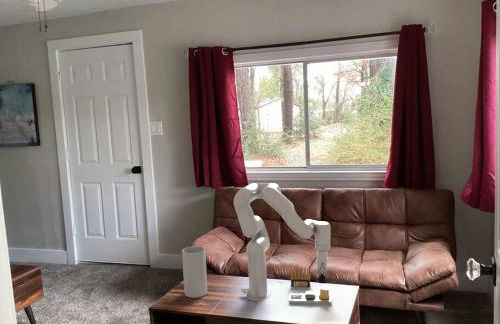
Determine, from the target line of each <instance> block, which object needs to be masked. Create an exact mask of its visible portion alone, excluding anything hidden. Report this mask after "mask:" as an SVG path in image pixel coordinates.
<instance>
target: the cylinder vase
mask: <svg viewBox="0 0 500 324" xmlns="http://www.w3.org/2000/svg"><path fill="white" fill-rule="evenodd" d="M181 255H182V256H181V257H182V273H183V289H184V290H183V291H184V295H185V296H186V297H187V298H191V299H198V298H202V297H204V296H206V295H207V293H208V278H207V275H208V274H207V261H206V259H207V258H206V247H204V246H200V245H193V246H187V247H184V248H183V249H182V250H181Z"/></svg>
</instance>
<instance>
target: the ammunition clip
mask: <svg viewBox="0 0 500 324" xmlns="http://www.w3.org/2000/svg"><path fill="white" fill-rule="evenodd" d="M290 287H293V288H294V287H297V288H311V274H310V268H309V267H307V269H306V267H304V268H303V266H301V267H300V266H298V267H296V266H294V267H293V266H291V268H290Z"/></svg>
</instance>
